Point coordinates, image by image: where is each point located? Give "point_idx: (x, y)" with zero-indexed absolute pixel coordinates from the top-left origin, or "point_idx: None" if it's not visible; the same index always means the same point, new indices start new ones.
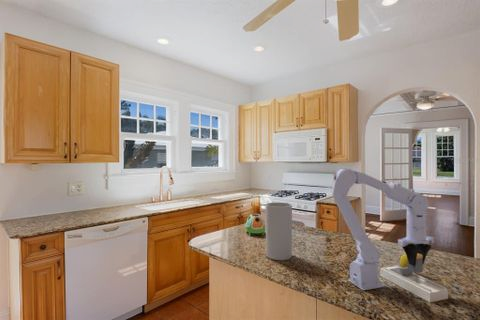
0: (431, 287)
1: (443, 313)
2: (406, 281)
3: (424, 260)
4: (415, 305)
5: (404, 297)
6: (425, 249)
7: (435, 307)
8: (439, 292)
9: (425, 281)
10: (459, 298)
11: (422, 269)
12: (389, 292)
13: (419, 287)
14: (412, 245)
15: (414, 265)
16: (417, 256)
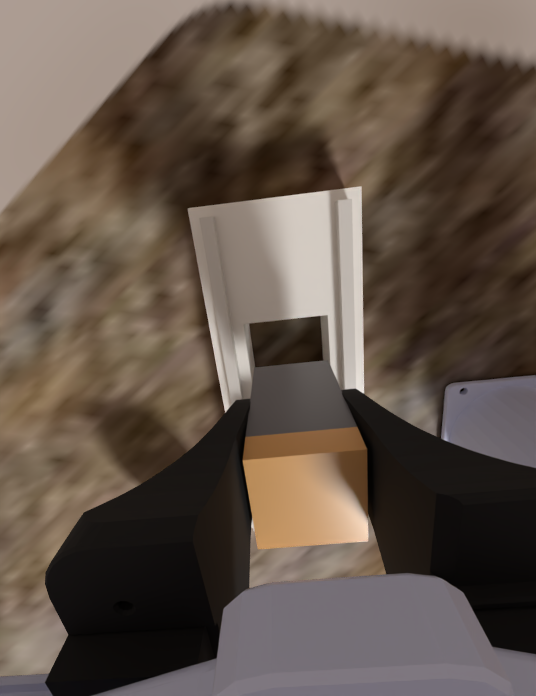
0: (276, 256)
1: (386, 57)
2: (362, 358)
3: (227, 414)
4: (462, 178)
5: (439, 270)
6: (216, 502)
7: (367, 134)
8: (269, 198)
9: (240, 336)
10: (127, 201)
11: (254, 375)
12: (469, 332)
13: (356, 272)
14: (508, 620)
15: (353, 389)
16: (332, 445)
